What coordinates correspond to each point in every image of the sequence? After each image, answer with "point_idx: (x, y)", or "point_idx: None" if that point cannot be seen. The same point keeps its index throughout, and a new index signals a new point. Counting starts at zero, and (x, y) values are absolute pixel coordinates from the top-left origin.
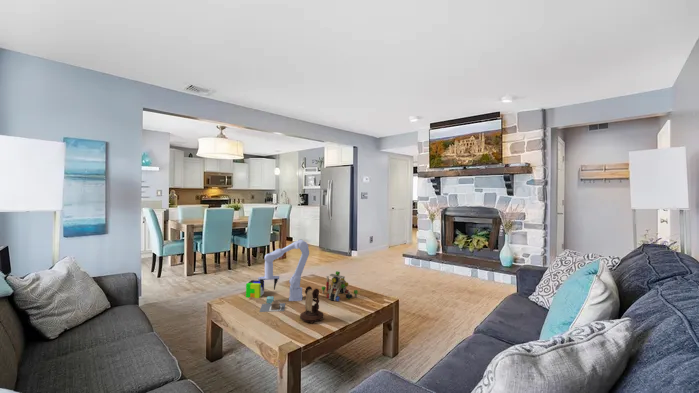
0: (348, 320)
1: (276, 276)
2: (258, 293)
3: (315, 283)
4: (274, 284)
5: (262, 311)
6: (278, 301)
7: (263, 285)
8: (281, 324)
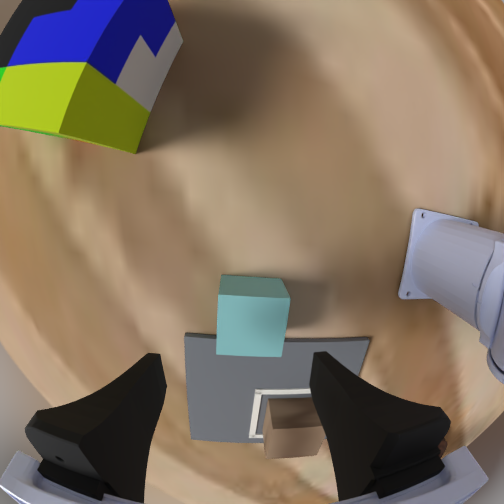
0: (470, 439)
1: (443, 501)
2: (112, 147)
3: (496, 24)
4: (336, 454)
5: (208, 437)
6: (319, 431)
7: (142, 420)
8: (297, 495)
